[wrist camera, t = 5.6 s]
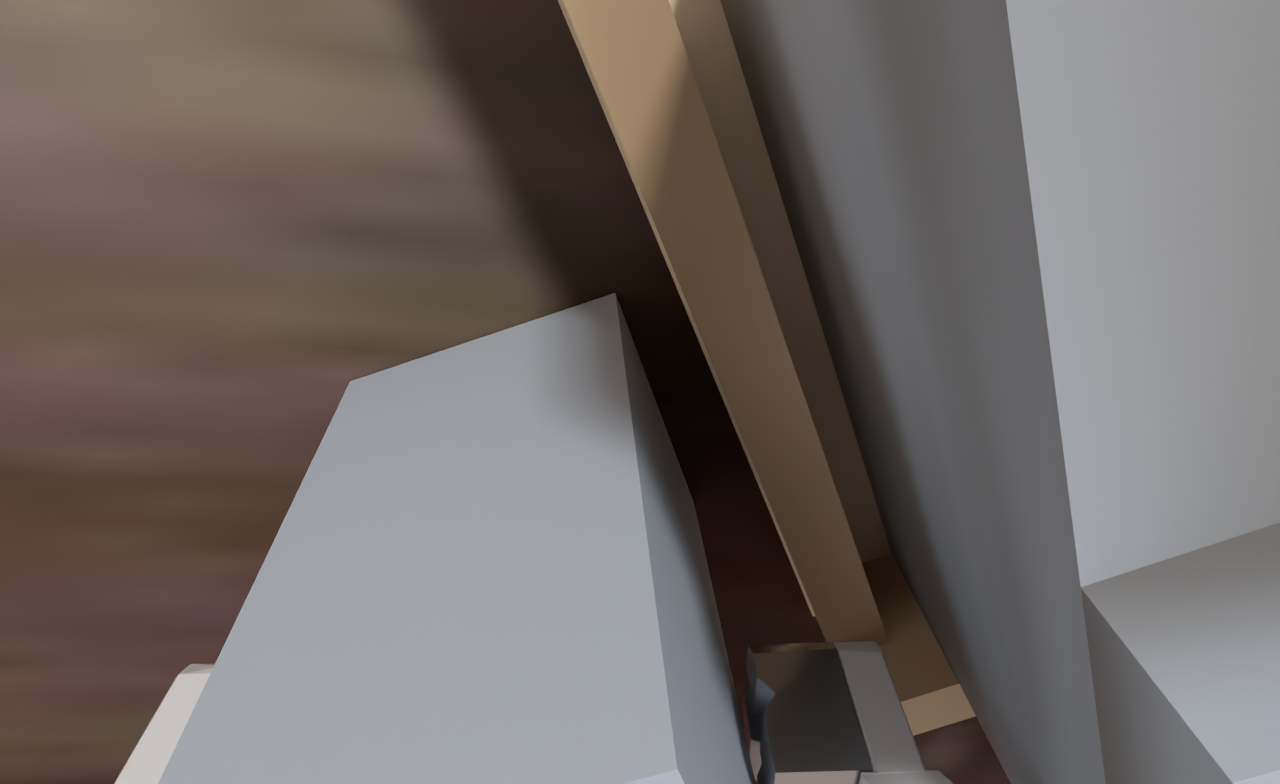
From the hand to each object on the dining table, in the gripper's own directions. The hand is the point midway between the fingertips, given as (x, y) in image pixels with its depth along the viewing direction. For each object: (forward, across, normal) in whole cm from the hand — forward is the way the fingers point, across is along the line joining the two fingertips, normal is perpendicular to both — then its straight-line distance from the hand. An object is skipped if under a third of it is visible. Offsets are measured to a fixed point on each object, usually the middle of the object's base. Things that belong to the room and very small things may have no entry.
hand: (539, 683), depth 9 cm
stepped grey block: (+4, 0, -1) cm, 4 cm away
